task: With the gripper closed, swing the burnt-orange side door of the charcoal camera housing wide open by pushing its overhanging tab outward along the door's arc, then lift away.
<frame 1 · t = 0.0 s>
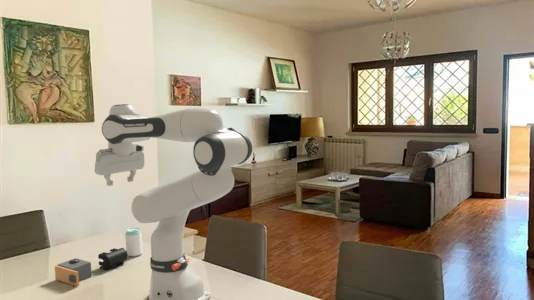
hand: (120, 183, 150), 39 cm above the table, tool pointing down, fingers open, 8 cm apart
housing: (75, 277, 159), on the table
black ridged cylinder: (113, 266, 171), on the table
door: (65, 275, 153), point 3 cm above the table, hinge at 0.0°
can: (134, 255, 184), on the table
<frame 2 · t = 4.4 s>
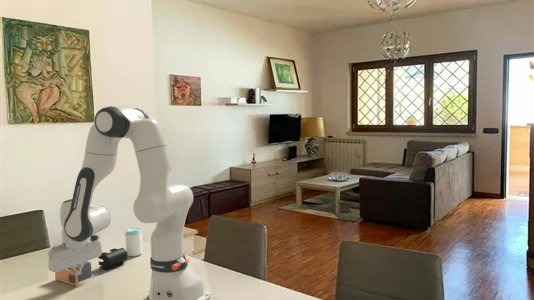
hand: (77, 275, 152), 4 cm above the table, tool pointing down, fingers closed
door: (65, 276, 153), point 3 cm above the table, hinge at 1.2°, touching gripper
everything else where it was.
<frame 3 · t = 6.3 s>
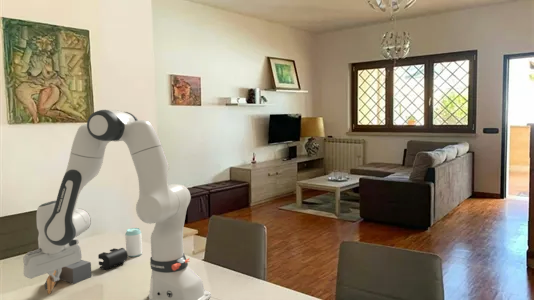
hand: (55, 281, 147), 4 cm above the table, tool pointing down, fingers closed
door: (51, 279, 150), point 3 cm above the table, hinge at 41.2°, touching gripper
everything else where it was.
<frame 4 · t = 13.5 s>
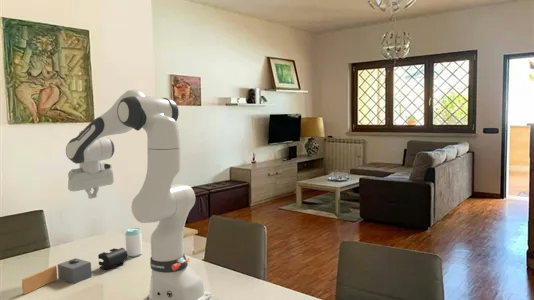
hand: (92, 198, 173), 29 cm above the table, tool pointing down, fingers closed
door: (39, 279, 151), point 3 cm above the table, hinge at 79.9°
everything else where it was.
at the end: door at +80° (first picture: +0°); black ridged cylinder moved 0.3 cm from its start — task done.
